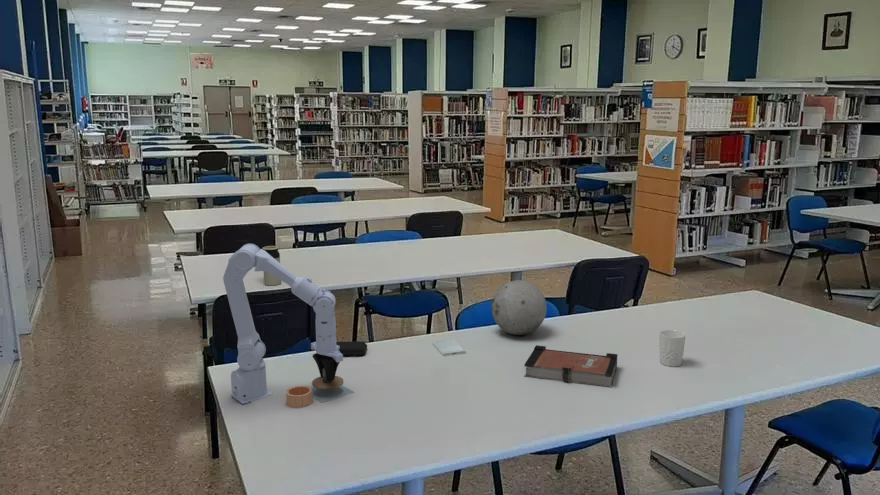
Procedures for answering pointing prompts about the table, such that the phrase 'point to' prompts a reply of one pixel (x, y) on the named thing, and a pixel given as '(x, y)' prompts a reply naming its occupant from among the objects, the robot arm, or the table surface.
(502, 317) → the moon model
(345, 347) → the carrying case or bag
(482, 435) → the table surface
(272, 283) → the travel mug
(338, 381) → the lid
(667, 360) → the white cup
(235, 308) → the robot arm
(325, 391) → the mat
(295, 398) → the bowl
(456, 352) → the hard drive
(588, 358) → the book
